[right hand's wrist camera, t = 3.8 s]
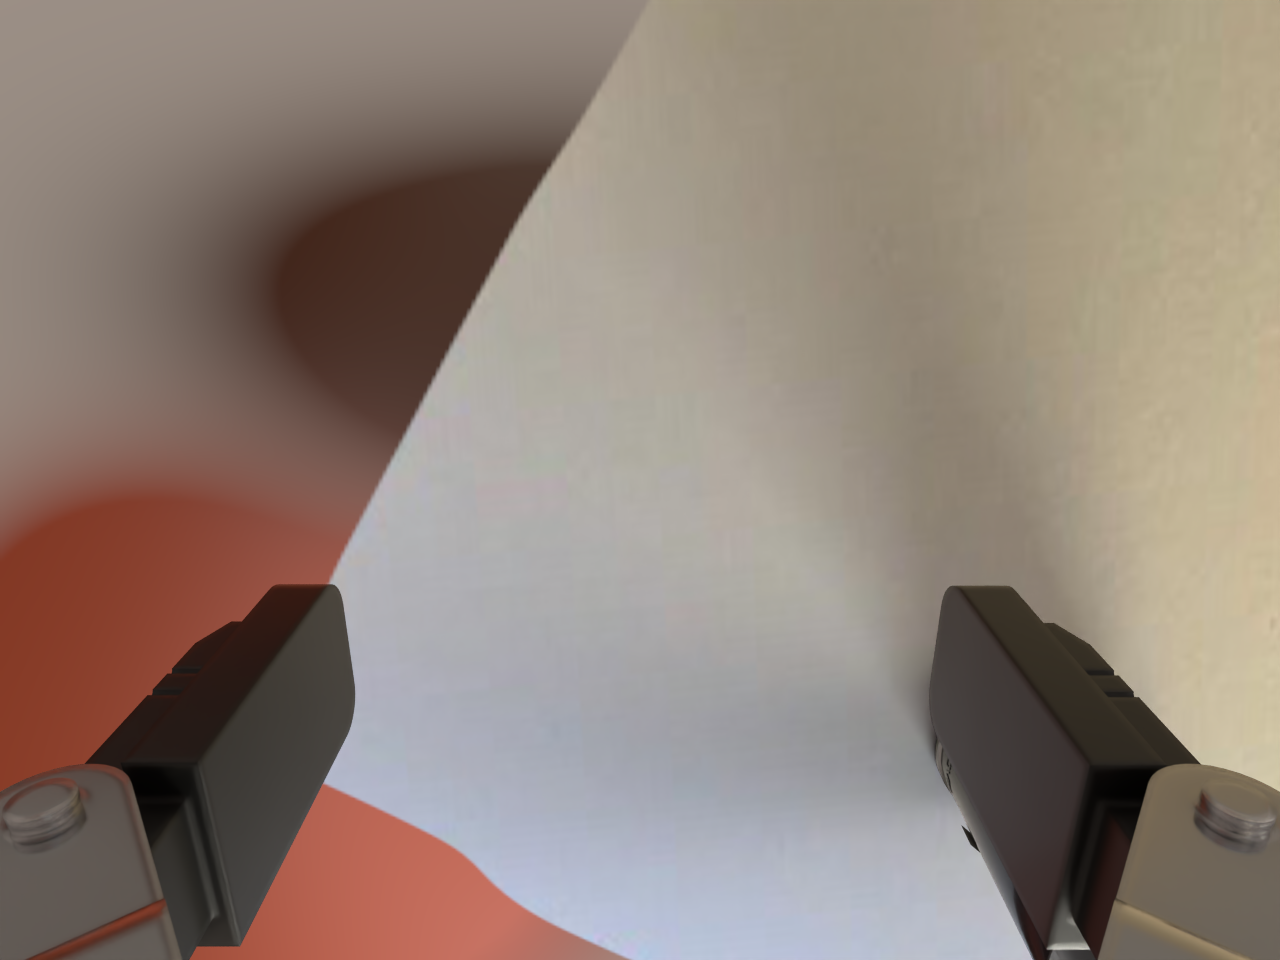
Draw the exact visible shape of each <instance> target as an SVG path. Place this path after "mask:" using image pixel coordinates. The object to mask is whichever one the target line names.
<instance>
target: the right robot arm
mask: <svg viewBox="0 0 1280 960" xmlns="http://www.w3.org/2000/svg"><path fill="white" fill-rule="evenodd" d="M1133 693H1134V692H1133V691H1132V689H1131V688H1130V687H1129V686H1128V685H1127V684H1126V683H1125V682H1124V681H1123V680H1122V679H1121V678H1120V677H1119V676H1114V670H1113V669H1112V668H1111V667H1110V666H1109V665H1108V664H1107V663H1106V661H1105V660H1104V659H1103V658H1102V657H1101V656H1100V655H1099V654H1098V653H1097V652H1096V651H1095V650H1094V648H1093V647H1092V646H1091V645H1090V644H1088V643H1086V642H1085V641H1083V640H1081V639H1080V638H1078V637H1076V636H1075V635H1073V634H1071V633H1070V632H1068V631H1066V630H1065V629H1063V628H1061V627H1060V626H1058V625H1056V624H1055V623H1043V622H1042V621H1041V620H1040V618H1039V617H1038V616H1037V615H1036V614H1035V613H1034V612H1033V610H1032V609H1031V608H1030V607H1029V606H1028V605H1027V604H1026V602H1025V601H1024V600H1023V599H1022V598H1021V597H1020V595H1019V594H1018V593H1017V592H1016V591H1015V590H1014V589H1013V588H1012V587H1010V586H950V587H949V588H948V589H947V590H946V592H945V594H944V597H943V600H942V605H941V612H940V619H939V626H938V633H937V640H936V647H935V653H934V660H933V667H932V674H931V681H930V689H929V703H930V713H931V719H932V723H933V727H934V730H935V733H936V735H937V742H936V749H935V756H936V763H937V767H938V770H939V773H940V775H941V777H942V779H943V781H944V783H945V785H946V787H947V788H948V790H949V791H950V793H951V794H952V795H953V797H954V799H955V801H956V803H957V805H958V807H959V809H960V811H961V813H962V816H963V818H964V820H965V822H966V824H967V826H968V829H969V831H970V832H969V831H968V830H966V829H965V828H964V827H963V826H962V828H963V830H964V832H965V834H966V836H967V838H968V840H969V842H970V844H971V845H972V846H973V847H974V848H975V849H976V850H978V851H979V852H980V853H981V855H982V857H983V859H984V861H985V863H986V865H987V867H988V869H989V871H990V873H991V875H992V877H993V879H994V881H995V884H996V886H997V888H998V890H999V892H1000V894H1001V896H1002V898H1003V900H1004V902H1005V904H1006V906H1007V908H1008V910H1009V912H1010V914H1011V916H1012V918H1013V920H1014V922H1015V924H1016V926H1017V928H1018V930H1019V932H1020V934H1021V936H1022V939H1023V941H1024V943H1025V945H1026V947H1027V949H1028V951H1029V953H1030V955H1031V957H1032V959H1033V960H1280V792H1279V791H1277V790H1275V789H1274V788H1272V787H1270V786H1268V785H1266V784H1264V783H1262V782H1260V781H1258V780H1255V779H1253V778H1250V777H1248V776H1245V775H1243V774H1240V773H1237V772H1234V771H1230V770H1227V769H1223V768H1218V767H1214V766H1208V765H1201V764H1200V763H1199V762H1198V761H1197V760H1196V758H1195V757H1194V756H1193V755H1192V754H1191V753H1190V752H1189V751H1188V750H1187V749H1186V748H1185V747H1184V746H1183V744H1182V743H1181V742H1180V741H1179V740H1178V739H1177V738H1176V737H1175V736H1174V735H1173V734H1172V733H1171V732H1170V730H1169V729H1168V728H1167V727H1166V726H1165V725H1164V724H1163V723H1162V722H1161V721H1160V720H1159V719H1158V718H1157V716H1156V715H1155V714H1154V713H1153V712H1152V711H1151V710H1150V709H1149V708H1148V707H1147V706H1146V705H1145V703H1144V702H1143V701H1142V700H1141V699H1140V698H1139V697H1134V694H1133ZM354 706H355V684H354V677H353V670H352V663H351V656H350V649H349V642H348V635H347V628H346V621H345V614H344V607H343V601H342V597H341V594H340V591H339V589H338V588H337V587H336V586H335V585H333V584H279V585H275V586H273V587H272V588H271V589H270V590H269V591H268V592H267V593H266V594H265V595H264V597H263V598H262V599H261V600H260V601H259V602H258V604H257V605H256V606H255V607H254V608H253V609H252V611H251V612H250V613H249V614H248V615H247V616H246V617H245V619H244V620H243V621H242V622H230V623H228V624H227V625H225V626H223V627H222V628H220V629H218V630H217V631H215V632H213V633H212V634H210V635H208V636H207V637H205V638H203V639H202V640H200V641H198V642H197V643H195V644H194V645H193V646H192V648H191V649H190V650H189V651H188V652H187V653H186V654H185V655H184V656H183V657H182V658H181V659H180V661H179V662H178V663H177V664H176V665H175V666H174V667H173V668H172V674H167V675H166V676H165V677H164V678H163V679H162V680H161V681H160V682H159V683H158V684H157V686H156V687H155V688H154V689H153V693H152V695H147V697H146V698H145V699H144V700H143V701H142V702H141V703H140V704H139V705H138V706H137V707H136V708H135V710H134V711H133V712H132V713H131V714H130V715H129V716H128V717H127V718H126V719H125V720H124V721H123V723H122V724H121V725H120V726H119V727H118V728H117V729H116V730H115V731H114V732H113V733H112V735H111V736H110V737H109V738H108V739H107V740H106V741H105V742H104V743H103V744H102V745H101V747H100V748H99V749H98V750H97V751H96V752H95V753H94V754H93V755H92V756H91V757H90V759H89V760H88V761H87V762H86V763H85V764H80V765H72V766H66V767H62V768H57V769H53V770H50V771H47V772H43V773H40V774H37V775H35V776H32V777H30V778H27V779H25V780H22V781H20V782H18V783H16V784H14V785H12V786H10V787H8V788H6V789H5V790H3V791H1V792H0V960H189V959H190V957H191V956H192V954H193V952H194V950H195V949H196V947H197V946H240V945H241V943H242V941H243V939H244V937H245V935H246V933H247V932H248V930H249V928H250V926H251V924H252V922H253V920H254V918H255V916H256V914H257V912H258V910H259V908H260V906H261V904H262V902H263V900H264V898H265V896H266V894H267V892H268V890H269V888H270V886H271V884H272V882H273V880H274V878H275V876H276V874H277V872H278V870H279V869H280V867H281V865H282V863H283V861H284V859H285V857H286V855H287V853H288V851H289V849H290V847H291V845H292V843H293V841H294V839H295V837H296V835H297V833H298V831H299V829H300V827H301V825H302V823H303V821H304V819H305V817H306V815H307V813H308V812H309V810H310V808H311V806H312V804H313V802H314V800H315V798H316V796H317V794H318V792H319V790H320V788H321V786H322V784H323V782H324V780H325V778H326V776H327V774H328V772H329V770H330V768H331V766H332V764H333V762H334V760H335V758H336V756H337V754H338V753H339V751H340V749H341V747H342V745H343V743H344V741H345V739H346V737H347V735H348V732H349V730H350V727H351V723H352V719H353V714H354Z"/></svg>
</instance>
